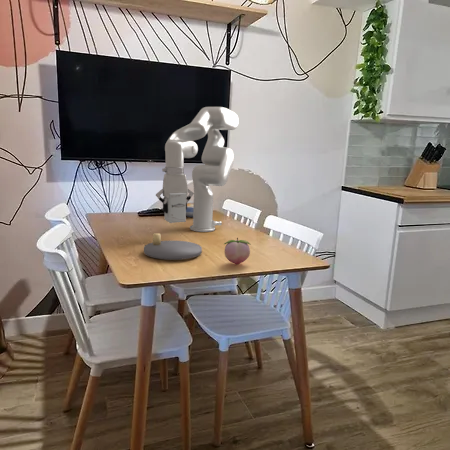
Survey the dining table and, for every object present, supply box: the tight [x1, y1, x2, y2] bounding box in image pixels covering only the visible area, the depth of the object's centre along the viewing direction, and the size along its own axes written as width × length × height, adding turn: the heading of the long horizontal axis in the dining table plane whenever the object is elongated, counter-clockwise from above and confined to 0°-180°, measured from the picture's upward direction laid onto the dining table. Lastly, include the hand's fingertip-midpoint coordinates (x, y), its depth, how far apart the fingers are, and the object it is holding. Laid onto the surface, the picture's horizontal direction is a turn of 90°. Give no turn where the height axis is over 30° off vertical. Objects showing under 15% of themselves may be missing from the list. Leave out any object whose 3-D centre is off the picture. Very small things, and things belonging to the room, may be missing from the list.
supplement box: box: [164, 193, 187, 224], centre depth 172 cm, size 7×7×13 cm
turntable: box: [143, 232, 203, 261], centre depth 154 cm, size 22×22×6 cm
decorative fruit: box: [224, 237, 252, 265], centre depth 143 cm, size 9×8×10 cm
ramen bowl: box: [186, 200, 194, 218], centre depth 232 cm, size 25×23×8 cm
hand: (175, 211), depth 173 cm, fingers closed on supplement box, 7 cm apart
